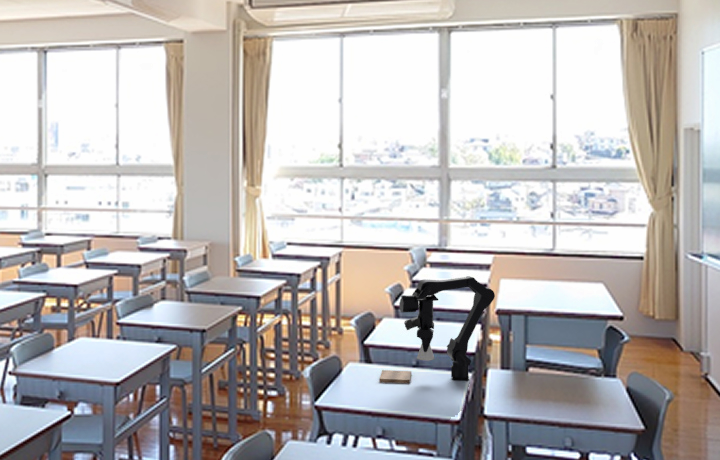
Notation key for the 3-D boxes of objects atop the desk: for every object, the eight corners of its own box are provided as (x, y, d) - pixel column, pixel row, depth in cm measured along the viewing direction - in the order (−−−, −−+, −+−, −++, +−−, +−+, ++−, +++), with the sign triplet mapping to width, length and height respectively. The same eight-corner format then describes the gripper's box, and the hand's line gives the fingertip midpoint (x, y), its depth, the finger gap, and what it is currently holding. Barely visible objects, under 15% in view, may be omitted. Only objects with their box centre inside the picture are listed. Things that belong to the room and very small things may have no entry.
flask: (413, 359, 258) (413, 335, 258) (420, 355, 265) (420, 331, 264) (430, 362, 255) (430, 337, 254) (437, 357, 261) (437, 333, 261)
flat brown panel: (411, 375, 268) (411, 371, 268) (409, 384, 256) (409, 379, 256) (382, 374, 270) (382, 370, 270) (379, 383, 258) (379, 378, 258)
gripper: (407, 306, 269) (407, 343, 270) (403, 315, 250) (403, 355, 251) (434, 307, 267) (433, 344, 268) (432, 316, 249) (432, 356, 250)
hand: (425, 350), depth 259 cm, fingers closed on flask, 5 cm apart
